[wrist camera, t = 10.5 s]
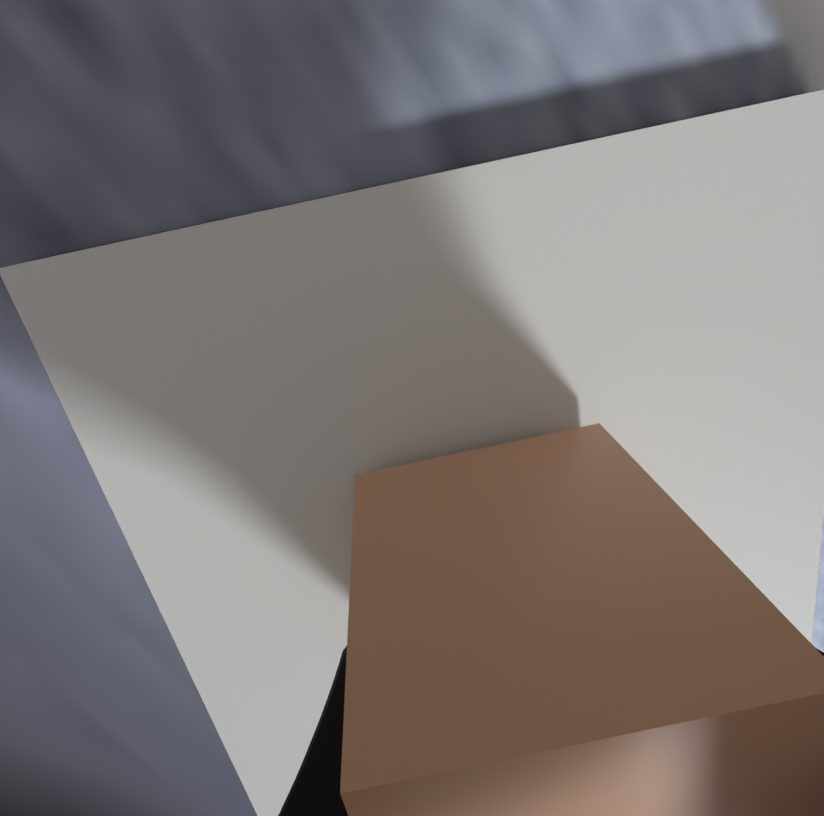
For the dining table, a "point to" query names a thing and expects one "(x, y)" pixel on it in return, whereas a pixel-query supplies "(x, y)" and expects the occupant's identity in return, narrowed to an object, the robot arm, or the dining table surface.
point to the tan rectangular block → (564, 648)
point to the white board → (443, 376)
